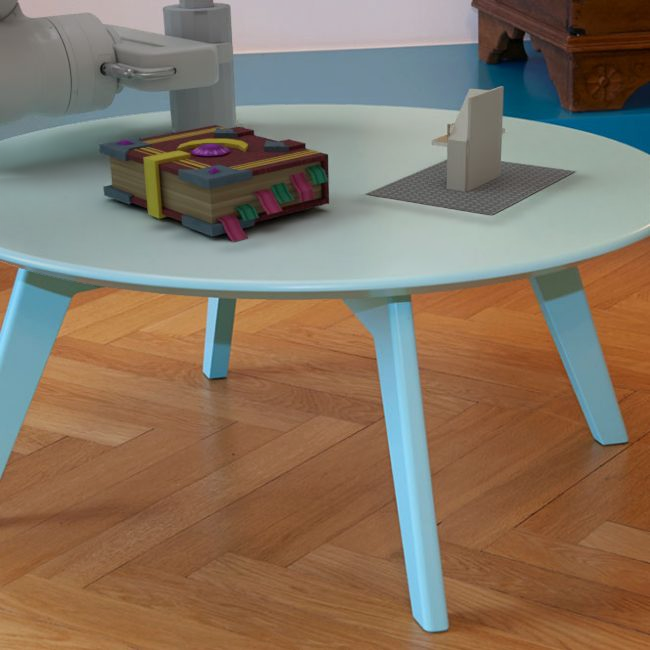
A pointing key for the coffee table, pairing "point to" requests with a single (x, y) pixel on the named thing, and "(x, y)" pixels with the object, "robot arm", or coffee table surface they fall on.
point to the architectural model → (474, 164)
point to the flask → (219, 99)
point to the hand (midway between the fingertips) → (206, 47)
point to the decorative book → (217, 177)
